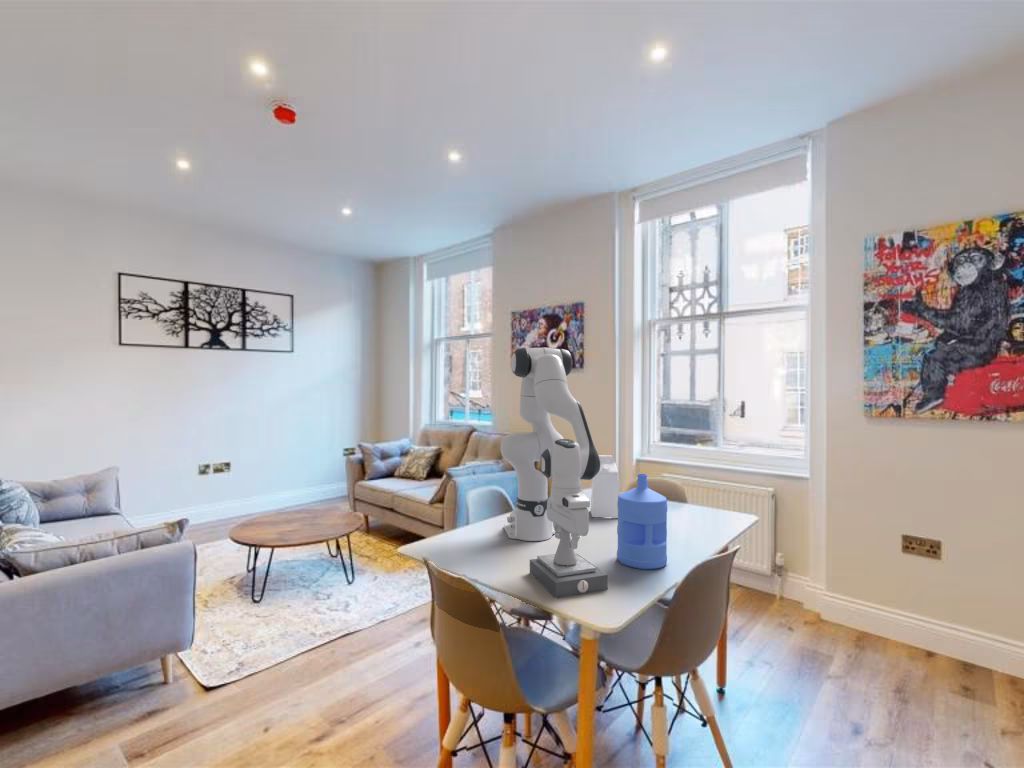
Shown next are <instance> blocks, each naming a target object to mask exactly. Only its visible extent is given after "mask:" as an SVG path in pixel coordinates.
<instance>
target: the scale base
mask: <svg viewBox="0 0 1024 768" xmlns="http://www.w3.org/2000/svg"><path fill="white" fill-rule="evenodd" d="M576 554H577V555H578V556H580V557H581V558H583V559H584V560H586V561H587V562H588V563H590V564H591V565H593V566H594V567H596V571H594V572H587V573H581V574H574V575H567V576H560V577H557V576H556V575H555V574H554V573H553V572H551V571H550V570H549V569H548V568H547V567H545V566H544V565H543V564H542V563H541V562H540V561H538V560H537V558H532V559H529V574H530V575H531V574H532V575H533V576H534V577H535V580H537V581H538V583H540V585H541V586H543V587H544V588H545V589H546V590H547V591H548V592H549V593H550V594H551V595H552V596H553V597H554V598H562V597H568V596H573V595H580V594H587V593H592V592H598V591H605V590H609V589H608V588H609V587H608V585H609V583H608V582H609V580H608V578H609V575H608V574H607V573H606V572H604V571H603V570H601V569H600V568H599V567H597V566H596V565H594V564H593V563H591V562H590V561H588V560H587V559H585V558H584V557H582V556H581V555H579V554H578V553H576ZM532 575H531V576H532ZM533 576H532V577H533ZM534 577H533V578H534Z"/></svg>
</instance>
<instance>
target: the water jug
mask: <svg viewBox="0 0 1024 768" xmlns="http://www.w3.org/2000/svg"><path fill="white" fill-rule="evenodd" d="M647 478H648V474H646V473H645V474H644V473H637V479H636V482H637V484H636V487H634V488H630V489H628V490H626V491H623V492H620V494H619V495H618V502H617V508H618V519H617V526H616V531H617V532H616V534H617V550H616V558H617V560H618V562H620V563H621V564H622V565H624V566H627V567H630V568H633V569H639V570H656V569H657V570H658V569H661V568H663V567H665V566H666V564H667V562H668V556H667V555H668V554H667V551H668V550H667V543H668V542H667V541H668V540H667V537H668V528H667V522H668V518H667V517H668V516H667V515H668V500H667V497H666V496H665V495H662V494H661V493H659V492H657V491H655V490H652V489H651V488H649V487H648V479H647Z"/></svg>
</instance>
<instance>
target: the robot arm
mask: <svg viewBox="0 0 1024 768" xmlns="http://www.w3.org/2000/svg"><path fill="white" fill-rule="evenodd" d="M510 368H511V370H512V373H513V375H515V376H516V377H519V378H521V382H520V383H521V384H520V394H519V395H520V396H519V398H520V400H519V414H520V417H521V418H522V420H524V421H525V422H527V423H528V424H530V425H531V427H532V431H529V432H526V431H525V432H514V433H510V434H507V435H505V436H504V437H502V440H501V442H500V449H499V450H500V453H501V456H502V457H503V459H504V460H505V461H506V462H508V463H509V464H510V465H511V467H513V470H514V472H515V474H516V476H517V477H516V479H517V487H518V488H517V495H518V496H517V497H516V504H515V508H514V509H513V510H512V511H511V512H510V514H509V516H507V517H506V518H507V523H505V524H504V525H503V529H504V530H505V533H506V536H507V537H508V538H509V539H512V540H521V541H526V542H527V541H528V542H539V541H547V540H548V539H549V540H550V539H551V537H552V536H553V534H554V538H556V539H558V540H560V537H561V530H560V527H561V528H563V529H565V530H566V531H568V532H569V533H570V538H571V541H570V547H571V548H572V549H574V550H575V549H578V544H579V541H580V538H582V537H586V536H587V535H588V534H589V530H590V513H589V509H588V508H591V500H590V499H589V498H588V497H587V496H586V494H585V493H584V491H583V490H582V482H581V480H587V481H592V478H594V477H595V476H596V475H597V474H598V472H599V471H600V459H599V453H598V451H597V449H596V447H595V445H594V441H593V439H592V434H591V432H590V428H589V425H588V422H587V421H588V420H587V418H586V416H585V415H586V414H585V413H584V412H585V411H584V409H583V407H582V404H581V403H580V401H579V400H577V399H575V397H574V396H573V394H572V393H571V391H570V390H569V384H568V378H567V376H569V375H570V373H571V371H572V368H573V357H572V354H571V353H570V351H569V350H567V349H564V348H555V347H554V348H553V347H544V346H543V347H530V348H528V347H527V348H526V347H521V348H517V349H515V350H514V351H513V353H512V356H511V359H510ZM551 414H552V415H553V416H557V417H559V418H562V419H564V420H566V421H567V422H568V423H569V424H570V425H571V426H572V429H573V433H574V436H575V439H576V440H574V439H570V438H564V436H562V434H560V432H558V431H557V430H556V429H555V427H554V424H553V422H552V419H551ZM535 462H540V470H538V469H536V466H535ZM548 479H552V481H551V482H550V483H551V484H550V485H551V486H550V488H551V489H550V493H549V492H548V491H549V489H548V485H549V484H548V481H549V480H548ZM548 493H549V496H548Z"/></svg>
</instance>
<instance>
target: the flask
mask: <svg viewBox="0 0 1024 768" xmlns="http://www.w3.org/2000/svg"><path fill="white" fill-rule="evenodd" d="M560 530H561V537H560V539H559V543H558V545H557V549H556V552H555V553H554V554H555V556H554V559H553V561H554V562H555V563H556V564H558V565H575V564H576V563H577V561H578V560H577V557H576V555H575V554H576V552H575V549H572V548H571V547H570V541H571V539H572V537H571V533H569V532H568V531H566V530H565V529H563V528H561V527H560Z"/></svg>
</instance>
